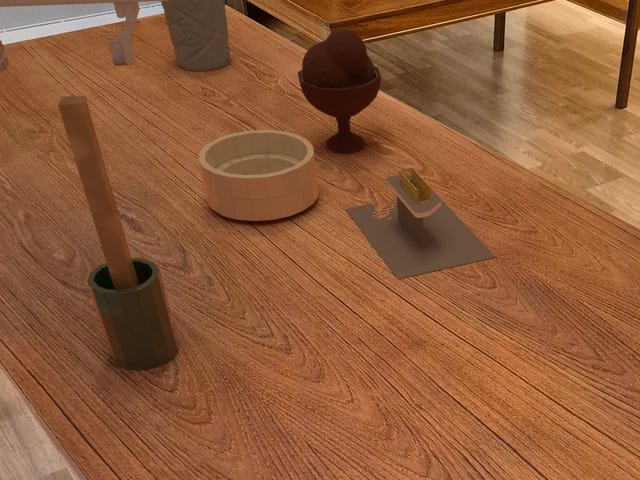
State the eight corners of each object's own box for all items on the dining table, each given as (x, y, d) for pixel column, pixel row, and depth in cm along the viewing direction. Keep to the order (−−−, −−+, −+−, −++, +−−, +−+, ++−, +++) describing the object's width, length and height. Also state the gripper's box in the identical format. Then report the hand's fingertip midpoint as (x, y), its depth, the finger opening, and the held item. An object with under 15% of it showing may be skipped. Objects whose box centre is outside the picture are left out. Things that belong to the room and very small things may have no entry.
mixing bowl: (205, 229, 105) (195, 181, 101) (211, 178, 115) (201, 132, 111) (321, 221, 107) (315, 173, 103) (317, 172, 117) (311, 127, 113)
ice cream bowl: (378, 126, 128) (371, 13, 118) (389, 159, 120) (382, 41, 110) (304, 131, 126) (290, 17, 116) (310, 165, 119) (295, 46, 108)
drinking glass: (171, 74, 142) (153, -9, 134) (174, 52, 149) (157, -28, 141) (236, 70, 143) (222, -12, 135) (236, 49, 151) (223, -30, 142)
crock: (110, 378, 84) (82, 296, 78) (118, 340, 89) (92, 259, 83) (177, 372, 85) (155, 290, 79) (182, 335, 90) (161, 254, 83)
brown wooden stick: (134, 361, 85) (56, 108, 69) (138, 342, 88) (63, 93, 71) (153, 359, 86) (80, 107, 69) (157, 340, 88) (86, 92, 71)
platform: (434, 191, 113) (433, 140, 109) (495, 257, 102) (496, 203, 97) (344, 208, 110) (340, 157, 105) (397, 279, 98) (394, 224, 93)
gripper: (162, -163, 62) (202, 46, 72) (-152, -159, 60) (-67, 58, 69) (153, -147, 58) (198, 74, 67) (-186, -141, 55) (-90, 87, 65)
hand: (61, 66), depth 68 cm, fingers open, 8 cm apart
